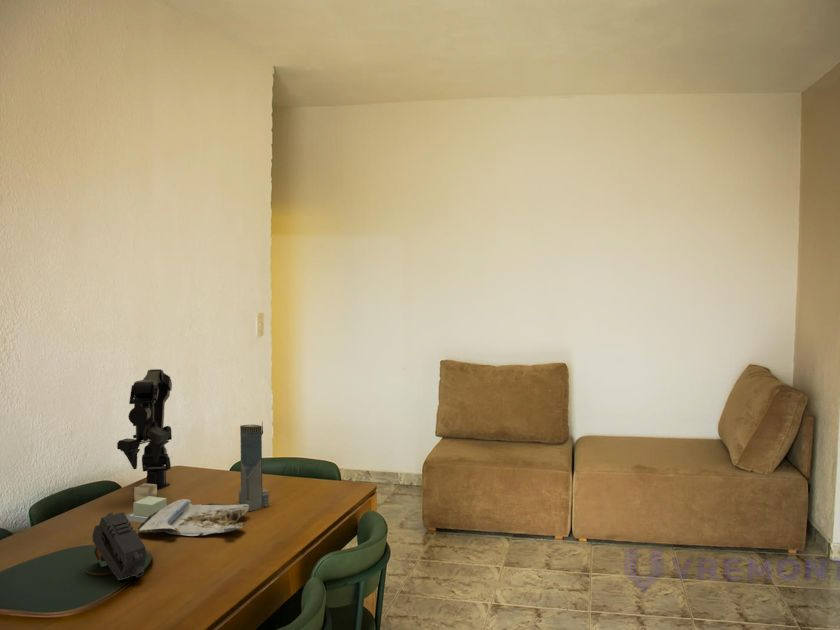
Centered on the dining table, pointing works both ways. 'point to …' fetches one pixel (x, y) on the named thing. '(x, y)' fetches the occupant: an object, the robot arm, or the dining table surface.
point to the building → (252, 468)
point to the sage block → (148, 506)
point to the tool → (119, 546)
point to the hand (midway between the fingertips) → (145, 465)
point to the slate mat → (135, 518)
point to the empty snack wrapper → (195, 518)
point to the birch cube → (145, 491)
